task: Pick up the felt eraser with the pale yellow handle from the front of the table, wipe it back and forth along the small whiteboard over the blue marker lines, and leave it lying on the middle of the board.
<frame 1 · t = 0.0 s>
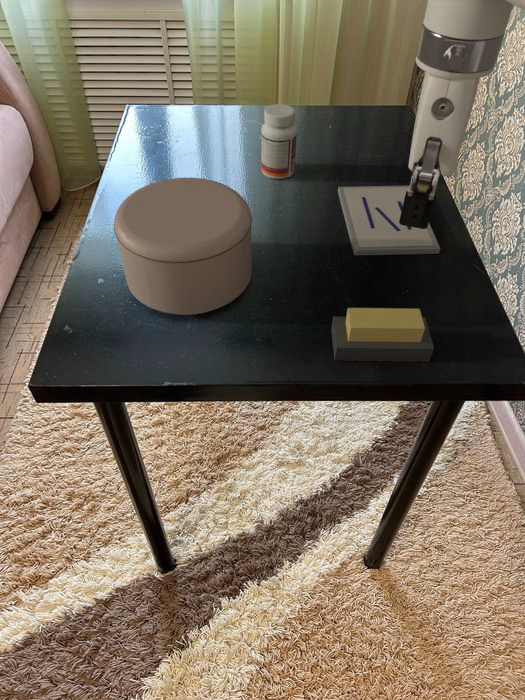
hand: (418, 203, 64), 15 cm above the table, tool pointing down, fingers open, 9 cm apart
eraser: (378, 345, 70), on the table
container: (190, 280, 78), on the table
whiteboard: (385, 220, 88), on the table
pill bottle: (277, 172, 99), on the table
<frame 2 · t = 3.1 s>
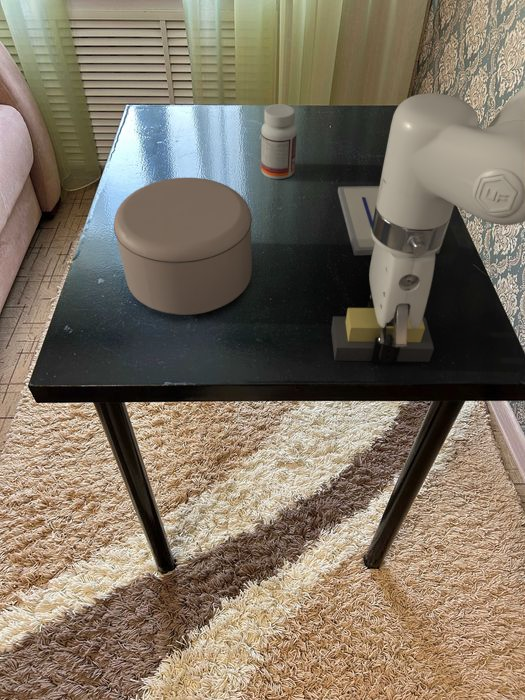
hand: (379, 341, 69), 1 cm above the table, tool pointing down, fingers closed on eraser, 5 cm apart
eraser: (378, 345, 70), on the table, touching gripper
everything else where it was.
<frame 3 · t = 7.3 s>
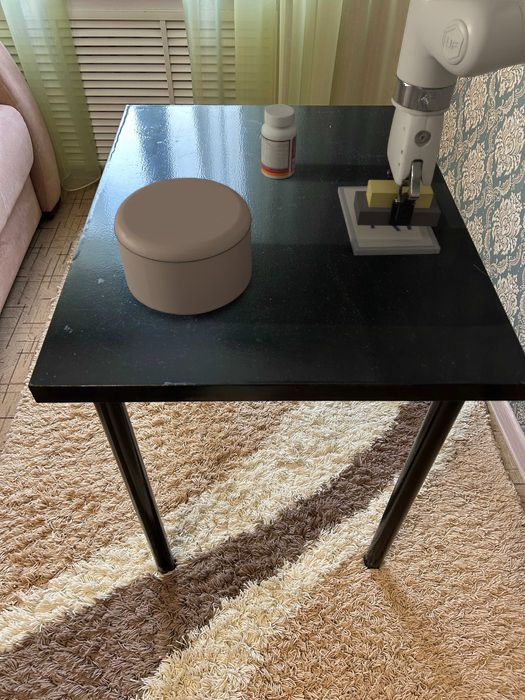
hand: (395, 211, 82), 5 cm above the table, tool pointing down, fingers closed on eraser, 5 cm apart
eraser: (394, 215, 83), point 4 cm above the table, touching gripper
everything else where it was.
when the fingers open (2 cm above the table, at t = 12.0 s): eraser stays where it is, resting on whiteboard.
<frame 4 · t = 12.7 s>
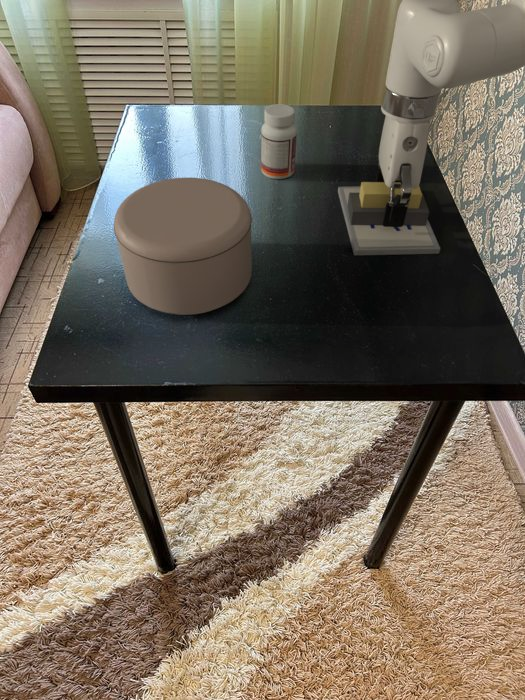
hand: (387, 208, 87), 2 cm above the table, tool pointing down, fingers open, 9 cm apart
eraser: (385, 215, 88), point 1 cm above the table, touching whiteboard
everything else where it was.
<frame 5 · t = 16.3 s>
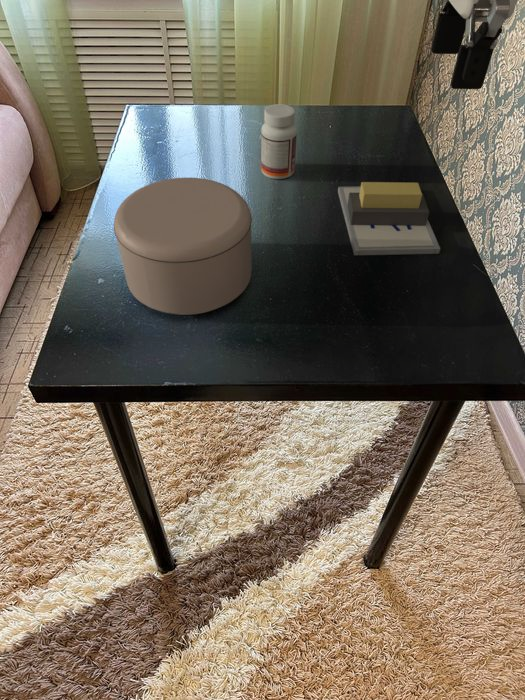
hand: (454, 69, 59), 28 cm above the table, tool pointing down, fingers open, 9 cm apart
nothing on the table moved.
at the end: eraser inside the target area on the whiteboard (0.1 cm from its centre), point 1.0 cm above the whiteboard's base; eraser tilted 0°; the gripper is holding nothing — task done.
